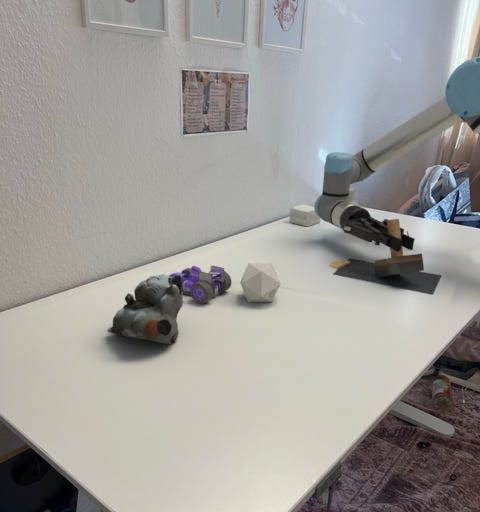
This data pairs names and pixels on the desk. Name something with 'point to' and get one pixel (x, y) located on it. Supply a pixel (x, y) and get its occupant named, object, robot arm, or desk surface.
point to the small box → (303, 215)
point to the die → (260, 282)
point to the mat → (390, 277)
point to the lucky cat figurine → (151, 310)
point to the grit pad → (339, 263)
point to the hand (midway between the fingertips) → (405, 245)
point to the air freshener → (352, 196)
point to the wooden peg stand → (398, 257)
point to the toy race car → (203, 283)
